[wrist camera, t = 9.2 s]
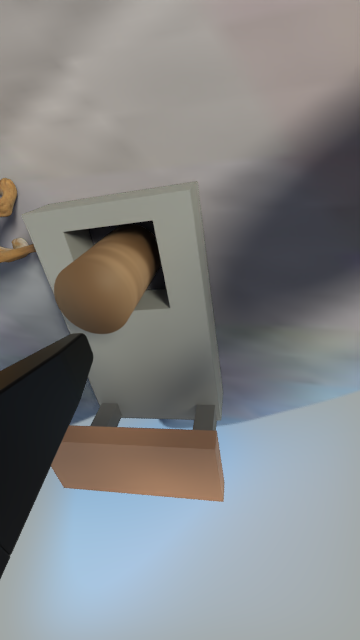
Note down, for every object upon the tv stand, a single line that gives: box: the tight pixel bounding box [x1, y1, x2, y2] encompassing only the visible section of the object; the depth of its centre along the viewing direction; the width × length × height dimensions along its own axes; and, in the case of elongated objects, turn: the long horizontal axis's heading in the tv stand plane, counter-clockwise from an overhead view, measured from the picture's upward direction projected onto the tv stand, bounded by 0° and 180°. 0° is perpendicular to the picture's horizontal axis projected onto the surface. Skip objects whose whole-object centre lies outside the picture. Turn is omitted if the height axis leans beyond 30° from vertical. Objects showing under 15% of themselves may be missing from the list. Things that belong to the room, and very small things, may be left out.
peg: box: [54, 224, 161, 334], centre depth 18 cm, size 4×4×7 cm
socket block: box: [22, 181, 223, 420], centre depth 22 cm, size 10×17×3 cm, turn 9°
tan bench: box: [51, 403, 224, 502], centre depth 22 cm, size 11×5×9 cm, turn 99°
